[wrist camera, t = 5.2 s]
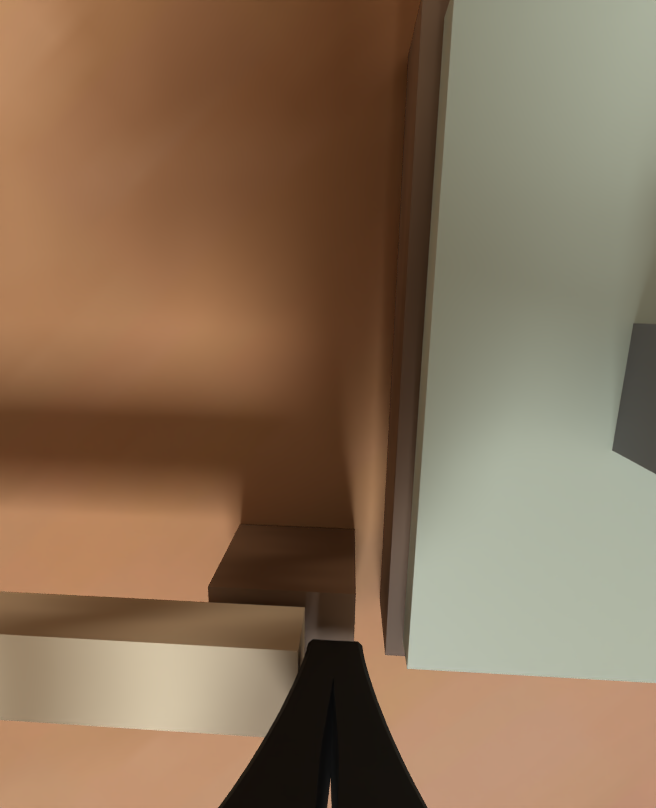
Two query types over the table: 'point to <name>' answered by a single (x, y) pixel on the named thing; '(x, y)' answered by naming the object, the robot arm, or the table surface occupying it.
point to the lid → (539, 348)
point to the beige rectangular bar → (147, 662)
